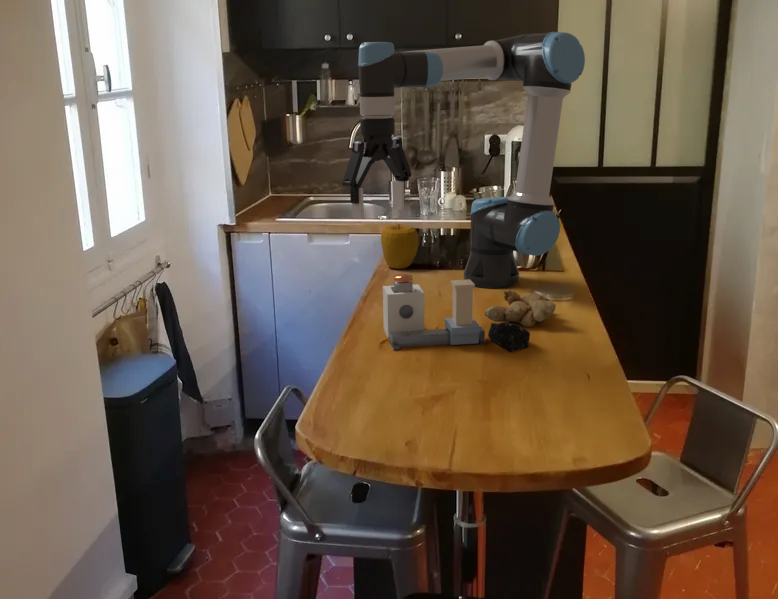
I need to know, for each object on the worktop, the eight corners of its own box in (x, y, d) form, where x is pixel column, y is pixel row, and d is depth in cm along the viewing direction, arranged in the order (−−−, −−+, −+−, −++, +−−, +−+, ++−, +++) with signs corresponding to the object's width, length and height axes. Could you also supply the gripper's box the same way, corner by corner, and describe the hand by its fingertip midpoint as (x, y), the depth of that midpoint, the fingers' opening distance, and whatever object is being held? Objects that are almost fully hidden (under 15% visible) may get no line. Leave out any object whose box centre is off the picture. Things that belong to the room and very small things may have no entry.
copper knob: (410, 299, 176) (410, 273, 174) (413, 304, 172) (413, 278, 170) (392, 300, 175) (392, 274, 174) (395, 305, 172) (395, 278, 170)
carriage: (471, 333, 173) (472, 277, 170) (479, 344, 167) (480, 286, 163) (444, 335, 172) (445, 278, 169) (451, 346, 166) (452, 287, 162)
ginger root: (566, 308, 187) (565, 278, 183) (550, 344, 175) (548, 312, 171) (503, 303, 193) (500, 274, 190) (483, 337, 181) (479, 307, 177)
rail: (479, 335, 173) (479, 324, 172) (486, 344, 167) (486, 333, 167) (389, 340, 170) (389, 330, 170) (393, 350, 165) (393, 339, 164)
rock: (510, 334, 174) (510, 309, 172) (537, 348, 165) (538, 322, 164) (482, 339, 171) (483, 313, 170) (509, 354, 162) (510, 327, 161)
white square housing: (418, 326, 180) (418, 284, 177) (424, 337, 173) (424, 293, 170) (383, 328, 178) (382, 286, 176) (388, 339, 171) (387, 295, 169)
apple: (425, 265, 235) (425, 222, 231) (406, 273, 226) (405, 229, 223) (393, 261, 241) (393, 219, 237) (374, 268, 232) (373, 225, 228)
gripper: (401, 113, 182) (402, 204, 188) (323, 119, 164) (327, 220, 170) (426, 114, 177) (426, 207, 183) (349, 120, 159) (352, 224, 165)
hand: (378, 213), depth 177 cm, fingers open, 13 cm apart
